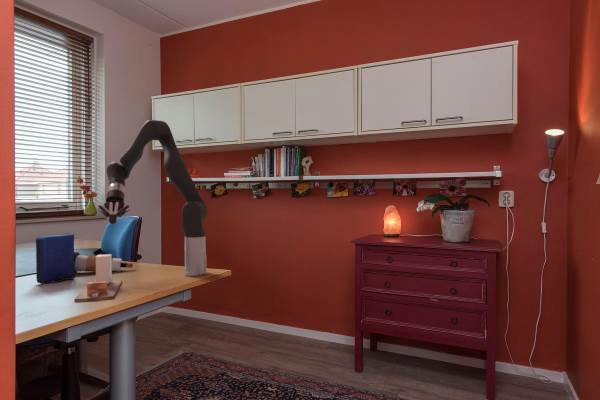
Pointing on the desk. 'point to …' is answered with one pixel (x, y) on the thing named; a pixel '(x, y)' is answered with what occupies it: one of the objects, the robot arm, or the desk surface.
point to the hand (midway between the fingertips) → (112, 222)
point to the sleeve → (104, 268)
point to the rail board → (101, 296)
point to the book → (55, 258)
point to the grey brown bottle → (90, 263)
